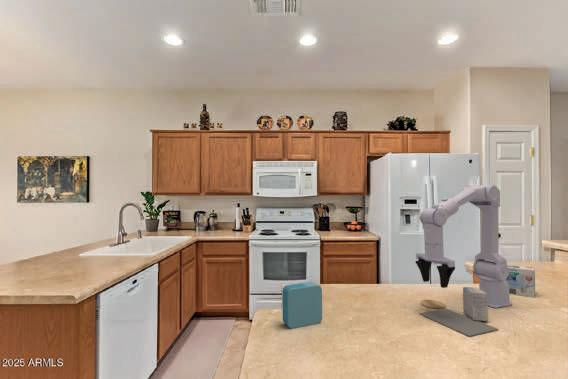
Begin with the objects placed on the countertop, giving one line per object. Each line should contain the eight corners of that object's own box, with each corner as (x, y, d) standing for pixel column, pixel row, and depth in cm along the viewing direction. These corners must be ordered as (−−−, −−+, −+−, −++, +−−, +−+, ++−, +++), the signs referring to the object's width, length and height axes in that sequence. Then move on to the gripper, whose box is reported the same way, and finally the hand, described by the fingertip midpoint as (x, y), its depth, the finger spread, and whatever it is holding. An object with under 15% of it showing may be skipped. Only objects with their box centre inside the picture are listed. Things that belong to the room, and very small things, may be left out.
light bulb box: (501, 292, 122) (500, 266, 122) (503, 289, 127) (502, 263, 127) (535, 298, 115) (534, 270, 115) (535, 294, 120) (534, 267, 120)
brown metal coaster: (432, 300, 114) (432, 298, 114) (450, 307, 106) (450, 305, 106) (416, 302, 111) (415, 301, 111) (433, 310, 103) (433, 308, 103)
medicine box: (488, 321, 92) (488, 293, 93) (472, 320, 93) (472, 292, 94) (477, 313, 100) (477, 287, 100) (462, 312, 101) (462, 286, 101)
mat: (445, 309, 104) (445, 308, 104) (498, 330, 87) (498, 328, 87) (419, 314, 100) (419, 313, 100) (469, 337, 83) (469, 335, 83)
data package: (315, 317, 98) (315, 281, 98) (322, 322, 94) (322, 284, 94) (282, 324, 93) (282, 285, 93) (288, 329, 89) (287, 289, 89)
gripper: (408, 241, 106) (409, 279, 105) (442, 247, 92) (443, 291, 92) (424, 240, 108) (425, 278, 108) (459, 246, 94) (460, 289, 94)
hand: (434, 284), depth 100 cm, fingers open, 7 cm apart
